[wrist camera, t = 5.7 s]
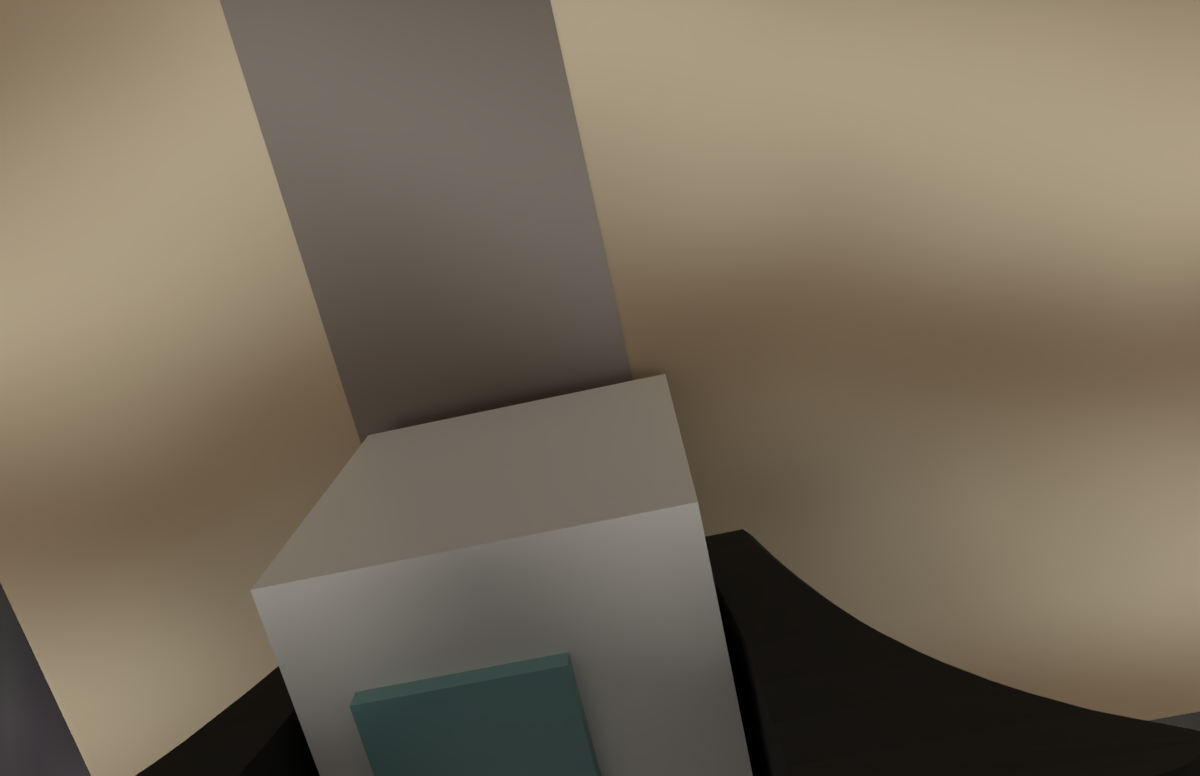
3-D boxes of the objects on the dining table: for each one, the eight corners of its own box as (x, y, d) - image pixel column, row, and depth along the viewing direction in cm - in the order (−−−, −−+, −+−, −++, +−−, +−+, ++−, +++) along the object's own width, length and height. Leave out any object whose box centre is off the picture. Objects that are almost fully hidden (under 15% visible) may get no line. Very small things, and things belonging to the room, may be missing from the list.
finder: (742, 753, 13) (805, 1038, 9) (481, 799, 13) (429, 1095, 9) (664, 374, 11) (701, 512, 7) (368, 435, 11) (240, 601, 7)
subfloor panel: (1416, 618, 15) (1487, 662, 13) (181, 841, 16) (147, 898, 15) (1474, -362, 11) (1583, -424, 9) (-171, 49, 12) (-256, 41, 11)
